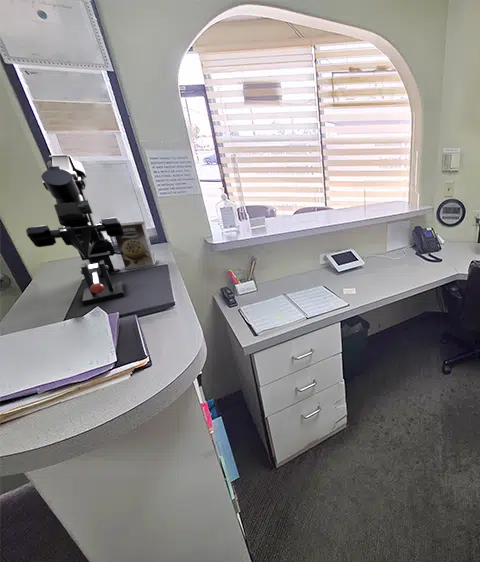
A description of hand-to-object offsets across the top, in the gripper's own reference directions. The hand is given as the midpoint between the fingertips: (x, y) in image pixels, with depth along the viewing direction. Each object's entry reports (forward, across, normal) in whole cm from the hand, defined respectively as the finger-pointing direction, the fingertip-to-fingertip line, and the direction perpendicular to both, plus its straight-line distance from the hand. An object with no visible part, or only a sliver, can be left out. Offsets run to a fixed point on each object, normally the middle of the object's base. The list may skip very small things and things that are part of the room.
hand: (86, 256), depth 82 cm
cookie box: (-14, +11, +34) cm, 38 cm away
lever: (+4, 0, +7) cm, 8 cm away
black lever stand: (+5, 0, +14) cm, 15 cm away
